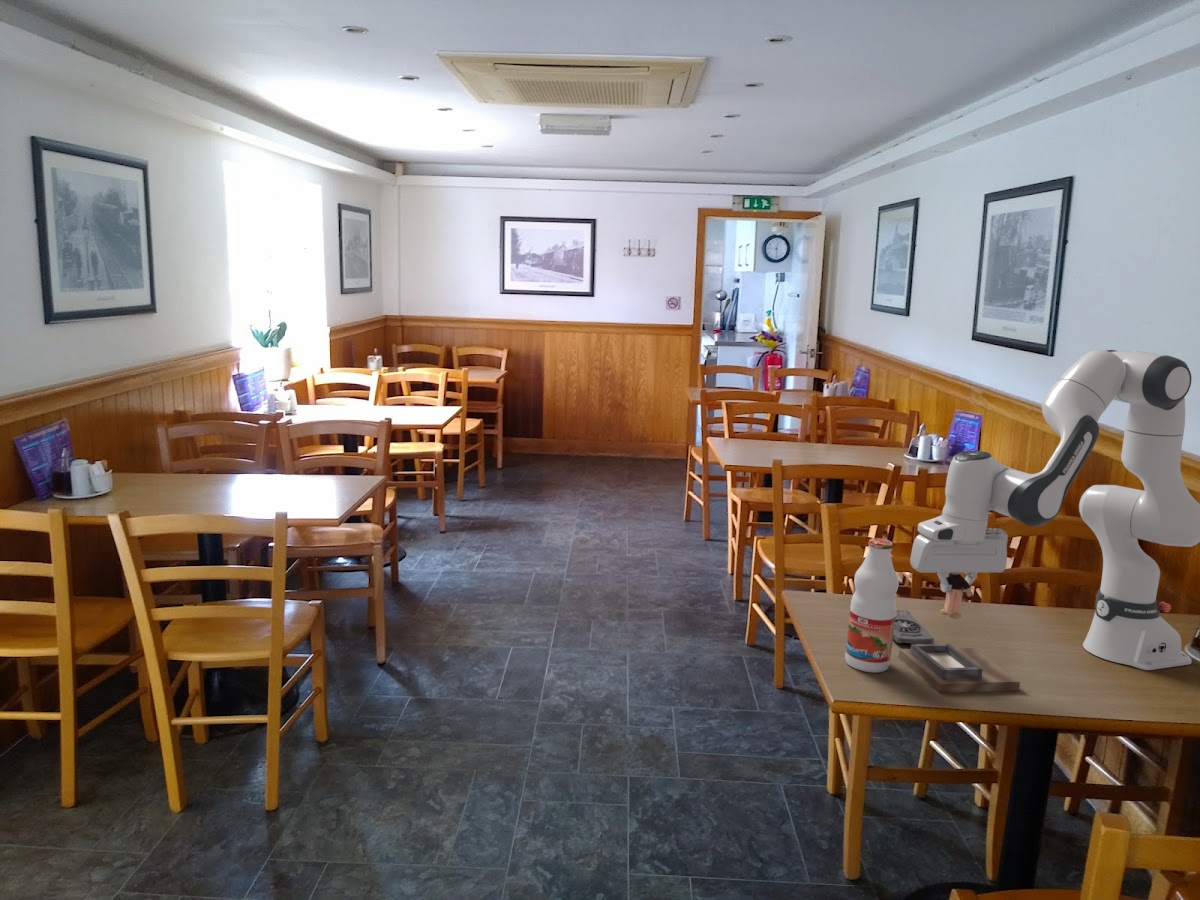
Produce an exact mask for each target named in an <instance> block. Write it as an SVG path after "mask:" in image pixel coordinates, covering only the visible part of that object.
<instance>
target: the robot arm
mask: <svg viewBox="0 0 1200 900" xmlns="http://www.w3.org/2000/svg"><path fill="white" fill-rule="evenodd" d="M1192 378H1193V377H1192V373H1191V370H1190V368H1189V366H1188V365H1187V363H1186V362H1185V361H1183V360H1182V359H1180V358H1177V357H1174V356H1171V355H1166V354H1165V355H1161V354H1157V353H1152V352H1148V351H1147V352H1146V351H1139V350H1138V351H1131V350H1130V351H1127V350H1115V349H1105V350H1104V349H1094V350H1093V349H1092V350H1090V351H1088V352H1086V353H1085V354H1083V355H1082V356H1081V357H1079V358H1078V359H1077V360H1076V361H1075V362H1074V363H1073V364H1071V365H1070V366H1069V367H1068V368H1067V369H1066V370H1065V371H1064V372H1063V373H1062V375H1060V377H1059V378H1058V379H1057V380H1056V381H1055V382H1054V384H1053V385H1052V386H1051V387H1050V388H1049V390H1047V392H1046V394H1045V396H1044V397H1043V400H1042V401H1041V413H1042V416H1043V418H1044V421H1045V422H1046V423H1047V425H1048V426H1049V427H1050V428H1051V429H1052V431H1054V433H1056V435H1058V436H1060V441H1059V443H1058V445H1057V447H1055V450H1054V452H1053V453H1052V455H1051V456H1050V457H1049V460H1048V461H1047V463H1046V465H1045V466H1044V468H1043V469H1042V470H1041V471H1039V472H1036V473H1028V472H1026V471H1025V472H1024V471H1021V470H1018V469H1015V468H1012V467H1009V466H1007V465H1005V464H1003V463H1001V462H999V461H998V460H996V458H994V456H993V455H992V454H991V453H990V452H988V451H984V450H971V449H970V450H964V451H960V452H958V453H957V454H955V455H954V456H953V457H952V459H951V461H950V464H949V466H948V467H949V468H948V470H947V474H946V475H947V476H946V481H945V482H946V483H945V487H944V494H945V503H944V506H943V508H942V512H941V515H939V516H936V517H933V518H931V519H927V520H924V521H921V522H919V523H918V524H917V532H918V533H919V534H918V535H917V536H916V537H915V538H914V540H913V544H912V548H911V553H910V554H911V555H910V560H909V561H910V562H909V563H910V566H911V567H912V569H913V570H915V571H916V572H918V573H921V574H922V573H923V574H925V573H937V577H938V579H939V581H940V584H941V587H940V590H941V591H942V592H943V593H946V592H951V588H952V584H949V583H948V582H947V579H946V577H949V573H961V574H962V573H963V574H965V575H966V576H965V578H964V579H965V580H966V581H967V582H968V584H969V585H970V586H971V585H972V584H973V582H975V581H976V579H977V578H978V573H980V574H981V573H983V574H984V573H1003V572H1004V571H1005V569H1006V568H1007V563H1008V561H1007V560H1008V550H1007V549H1008V547H1007V545H1008V540H1009V535H1008V533H1007V532H1006V531H1005V530H1003V528H988V521H989V513H990V511H994V512H996V513H999V514H1001V515H1004V516H1007V517H1010V518H1012V519H1014V520H1016V521H1017V522H1020V523H1021V524H1024V525H1026V526H1028V527H1034V528H1035V527H1036V528H1037V527H1042V526H1044V525H1047V524H1048V523H1049V522H1051V521H1052V520H1053V519H1055V518H1056V517H1057V516H1058V514H1060V511H1061V510H1062V507H1063V504H1064V501H1065V498H1066V496H1067V494H1068V491H1069V490H1070V488H1071V485H1072V484H1073V482H1074V481H1075V479H1076V478H1077V476H1078V474H1079V473H1080V471H1081V469H1082V468H1083V466H1084V464H1085V463H1086V461H1087V459H1088V457H1089V456H1090V455H1091V453H1092V450H1093V449H1094V447H1095V445H1096V442H1097V441H1098V438H1099V435H1100V427H1099V424H1098V423H1099V422H1098V421H1099V420H1100V419H1101V416H1102V415H1103V413H1105V411H1106V410H1107V408H1108V407H1109V406H1110V404H1111V403H1112V401H1113V400H1114V401H1117V402H1122V403H1127V404H1129V408H1128V413H1127V416H1126V421H1125V426H1124V435H1123V441H1122V447H1121V455H1120V459H1121V462H1122V465H1123V466H1124V468H1125V469H1126V470H1127V471H1128V472H1130V473H1131V474H1132V475H1134V476H1136V477H1137V478H1138V479H1139V480H1140V482H1141V484H1142V485H1143V488H1144V490H1142V489H1137V488H1132V487H1128V486H1127V487H1126V486H1122V485H1117V484H1094V485H1091V486H1090V487H1088V488H1087V489H1086V490H1085V491H1084V492H1083V493H1082V495H1081V497H1080V500H1079V504H1078V509H1079V510H1078V512H1079V515H1080V517H1081V519H1082V520H1083V522H1084V523H1085V524H1086V525H1087V526H1088V527H1089V528H1090V530H1091V531H1092V532H1093V533H1094V535H1095V537H1096V538H1097V540H1098V543H1099V546H1100V548H1101V552H1102V573H1101V582H1100V587H1099V589H1098V590H1097V593H1096V599H1095V612H1094V614H1093V615H1094V616H1093V617H1092V621H1091V624H1090V628H1089V630H1088V632H1087V634H1086V637H1085V640H1084V641H1083V643H1082V647H1083V649H1085V650H1086V651H1087V652H1088V653H1091V654H1092V655H1094V656H1096V657H1098V658H1101V659H1103V660H1107V661H1110V662H1114V663H1118V664H1123V665H1127V666H1131V667H1134V668H1137V669H1140V670H1145V671H1153V670H1159V669H1165V668H1172V667H1173V668H1174V667H1181V666H1188V665H1191V664H1192V658H1191V657H1190V656H1189V655H1188V654H1187V653H1185V652H1184V651H1182V639H1181V635H1180V634H1179V632H1178V631H1177V630H1176V629H1175V628H1173V626H1171V625H1170V624H1169V623H1168V622H1167V621H1166V620H1165V619H1164V618H1163V617H1162V616H1161V614H1160V611H1162V612H1164V613H1169V612H1170V611H1171V609H1172V605H1171V604H1170V603H1167V602H1165V601H1158V599H1157V593H1158V588H1159V583H1160V578H1161V570H1160V567H1159V565H1158V563H1157V562H1156V560H1154V559H1153V558H1152V557H1150V556H1149V555H1148V554H1147V553H1146V552H1144V550H1143V549H1142V548H1141V546H1140V545H1139V542H1138V539H1139V540H1142V541H1146V542H1151V543H1155V544H1160V545H1163V546H1169V547H1170V546H1171V547H1187V548H1191V547H1193V546H1196V545H1197V544H1199V543H1200V503H1199V502H1198V501H1197V500H1196V499H1195V498H1194V497H1193V495H1192V494H1191V493H1190V491H1189V489H1188V488H1187V486H1186V484H1185V482H1184V480H1183V476H1182V471H1181V469H1182V468H1181V460H1182V459H1181V457H1182V456H1181V455H1182V447H1183V440H1184V433H1185V426H1186V398H1185V397H1186V396H1187V394H1188V392H1189V391H1190V388H1191V386H1192ZM941 591H940V592H941ZM962 593H966V591H965V590H964V588H963V587H962Z"/></svg>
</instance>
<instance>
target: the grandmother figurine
mask: <svg viewBox="0 0 1200 900" xmlns="http://www.w3.org/2000/svg"><path fill="white" fill-rule="evenodd" d="M961 574H962V573H949V577H946V579H947V582H948V583H949V584H952V588H951V592H945V593H946V594H945V599H944V607H943V608H942V609H940V610H939V613H940V614H941V615H944V616H945V615H946V616H947V615H949V618H950V619H951V618H952V619H953V620H954V619H955V620H956V619H960V618H962V614H961V610H962V604H963V603H962V602H963V600H962V599H963V592H962V587H963V588H964V590H965V591H966V592H965V594H966V596H967V597H969V598H970V597H972V596H973V593H972V591H971V585H969V584H968V582H967V581H966V580H965V578H964V577H963V576H962V575H961ZM939 586H940V588H941V583H940V584H939Z"/></svg>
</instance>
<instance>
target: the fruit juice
mask: <svg viewBox="0 0 1200 900" xmlns="http://www.w3.org/2000/svg"><path fill="white" fill-rule="evenodd" d="M867 545H868V549H869V550H868V553H866V556H865V559H864V560H863V562H862V564H861V565H860V566H859V568H858V569H857V570H856V571H855V574H854V581H853V582H854V589H855V591H854V593H853V595H852V597H851V601H850V608H849V619H848V626H847V634H846V635H847V636H846V644H845V653H844V658H845V662H846V664H847V665H849V666H850V667H852V668H853V669H855V670H857V671H861V672H865V673H875V674H876V673H883V672H885V671H887V670H888V669H889V668H890V667H889V666H890V664H891V656H892V655H891V654H892V649H893V647H892V646H893V641H894V640H893V632H894V624H895V616H896V615H897V612H896V610H897V601H896V598H895V597H896V594H897V591H898V589H899V576H898V575H897V573H896V571H895V569H894V565H893V561H892V555H891V552H892V550H893V545H894V544H893V542H892V541H891V540H889V539H884V538H880V537H879V538H878V537H877V538H876V537H875V538H873V537H872V538H870V539H869V540H868V544H867Z"/></svg>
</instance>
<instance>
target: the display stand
mask: <svg viewBox="0 0 1200 900" xmlns="http://www.w3.org/2000/svg"><path fill="white" fill-rule="evenodd" d="M898 657H899V658H900V660H901V662H903V661H904V662H905V663H906V664H907V665H906V664H905V663H904V662H903V663H904V664H905V665H906V666H907V667H908V668H910V669H911V670H912V671H913V670H914V671H915V672H914V671H913V672H914V673H915V674H916V675H918V676H919V677H920V676H921V677H922V678H923V681H925V682H926V683H927V684H928V685H929V684H930V685H931V686H930V685H929V686H930V687H932V689H934V690H935V691H936V692H937V691H938V692H937V693H939V694H944V693H945V694H946V693H950V694H952V693H976V692H977V693H979V692H980V693H981V692H986V693H987V692H1017V691H1018V692H1019V691H1020V686H1021V681H1020V680H1019V679H1017V678H1016V677H1014V676H1013V675H1011V674H1010V673H1009V672H1008V671H1006V670H1005V669H1003V668H1002V667H1001V666H999V665H998V664H996V663H995V662H993V660H991V659H989V658H988V657H987V656H985V655H984V654H983V653H982V652H979V650H977V649H976V648H974V647H953V645H951V644H950V643H932V644H930V643H921V644H912V643H910V648H900V649H898ZM899 658H898V659H899ZM921 677H920V678H921ZM922 678H921V679H922Z"/></svg>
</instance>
